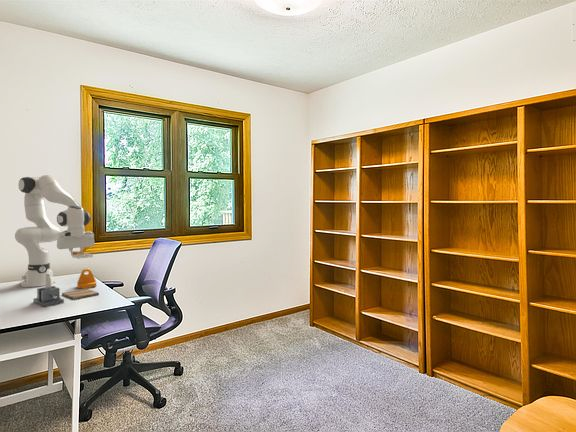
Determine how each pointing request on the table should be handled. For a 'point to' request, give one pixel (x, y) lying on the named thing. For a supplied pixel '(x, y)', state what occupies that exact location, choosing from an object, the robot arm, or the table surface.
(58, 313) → the table surface
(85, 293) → the board
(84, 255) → the loop
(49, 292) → the vise
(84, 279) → the orange rounded piece
